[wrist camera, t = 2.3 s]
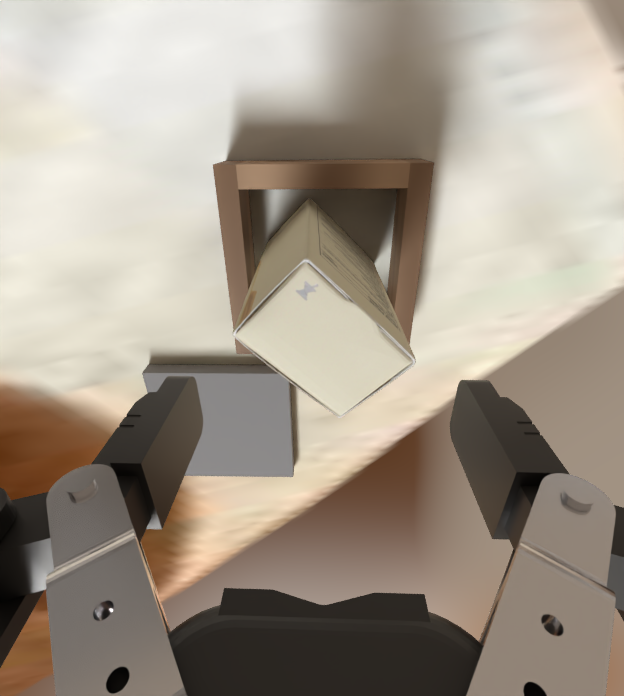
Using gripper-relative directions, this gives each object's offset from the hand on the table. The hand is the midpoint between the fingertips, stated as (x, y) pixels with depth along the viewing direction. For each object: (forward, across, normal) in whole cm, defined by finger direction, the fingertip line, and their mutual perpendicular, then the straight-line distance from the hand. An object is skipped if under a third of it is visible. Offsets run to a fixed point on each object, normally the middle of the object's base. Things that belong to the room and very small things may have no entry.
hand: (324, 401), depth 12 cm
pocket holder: (+15, 0, 0) cm, 15 cm away
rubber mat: (+15, +8, +14) cm, 22 cm away
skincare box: (+16, 0, 0) cm, 16 cm away
